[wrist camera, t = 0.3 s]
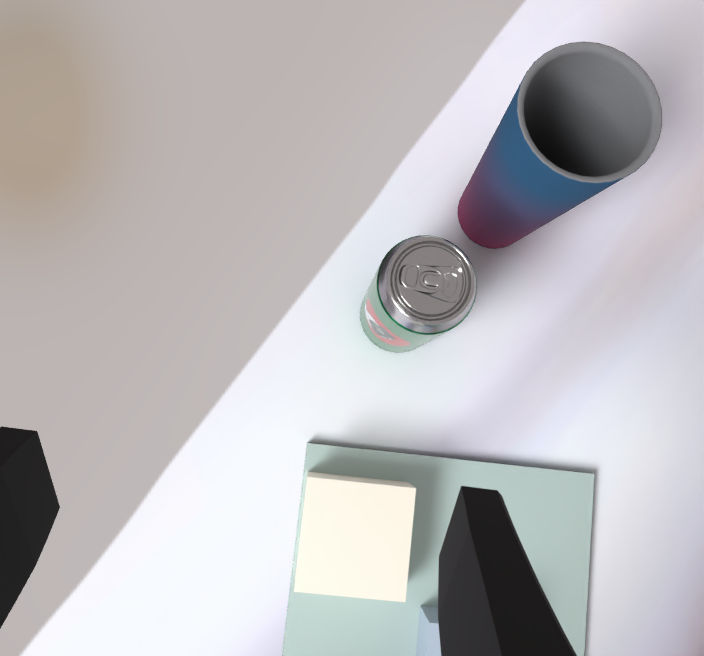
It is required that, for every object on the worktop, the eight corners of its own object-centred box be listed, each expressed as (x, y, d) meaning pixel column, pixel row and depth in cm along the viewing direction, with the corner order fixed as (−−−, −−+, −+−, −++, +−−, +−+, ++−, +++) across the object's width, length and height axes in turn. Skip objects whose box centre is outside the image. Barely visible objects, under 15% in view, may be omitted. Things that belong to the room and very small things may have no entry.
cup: (475, 149, 43) (561, 14, 28) (557, 199, 43) (687, 91, 28) (426, 228, 42) (490, 131, 27) (511, 279, 42) (620, 211, 27)
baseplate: (569, 833, 38) (573, 840, 37) (263, 810, 37) (263, 817, 36) (590, 473, 41) (594, 474, 40) (307, 442, 40) (306, 443, 39)
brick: (398, 587, 38) (405, 602, 35) (295, 577, 38) (293, 591, 35) (408, 482, 39) (416, 488, 36) (307, 471, 39) (307, 476, 36)
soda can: (427, 359, 41) (474, 341, 29) (353, 345, 41) (370, 321, 29) (439, 287, 42) (490, 240, 30) (366, 272, 41) (388, 219, 30)
